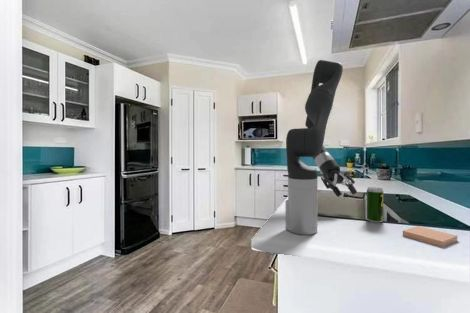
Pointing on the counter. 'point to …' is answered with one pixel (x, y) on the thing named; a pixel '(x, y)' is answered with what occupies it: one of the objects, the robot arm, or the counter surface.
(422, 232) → the tile
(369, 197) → the beer can
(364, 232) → the counter surface
